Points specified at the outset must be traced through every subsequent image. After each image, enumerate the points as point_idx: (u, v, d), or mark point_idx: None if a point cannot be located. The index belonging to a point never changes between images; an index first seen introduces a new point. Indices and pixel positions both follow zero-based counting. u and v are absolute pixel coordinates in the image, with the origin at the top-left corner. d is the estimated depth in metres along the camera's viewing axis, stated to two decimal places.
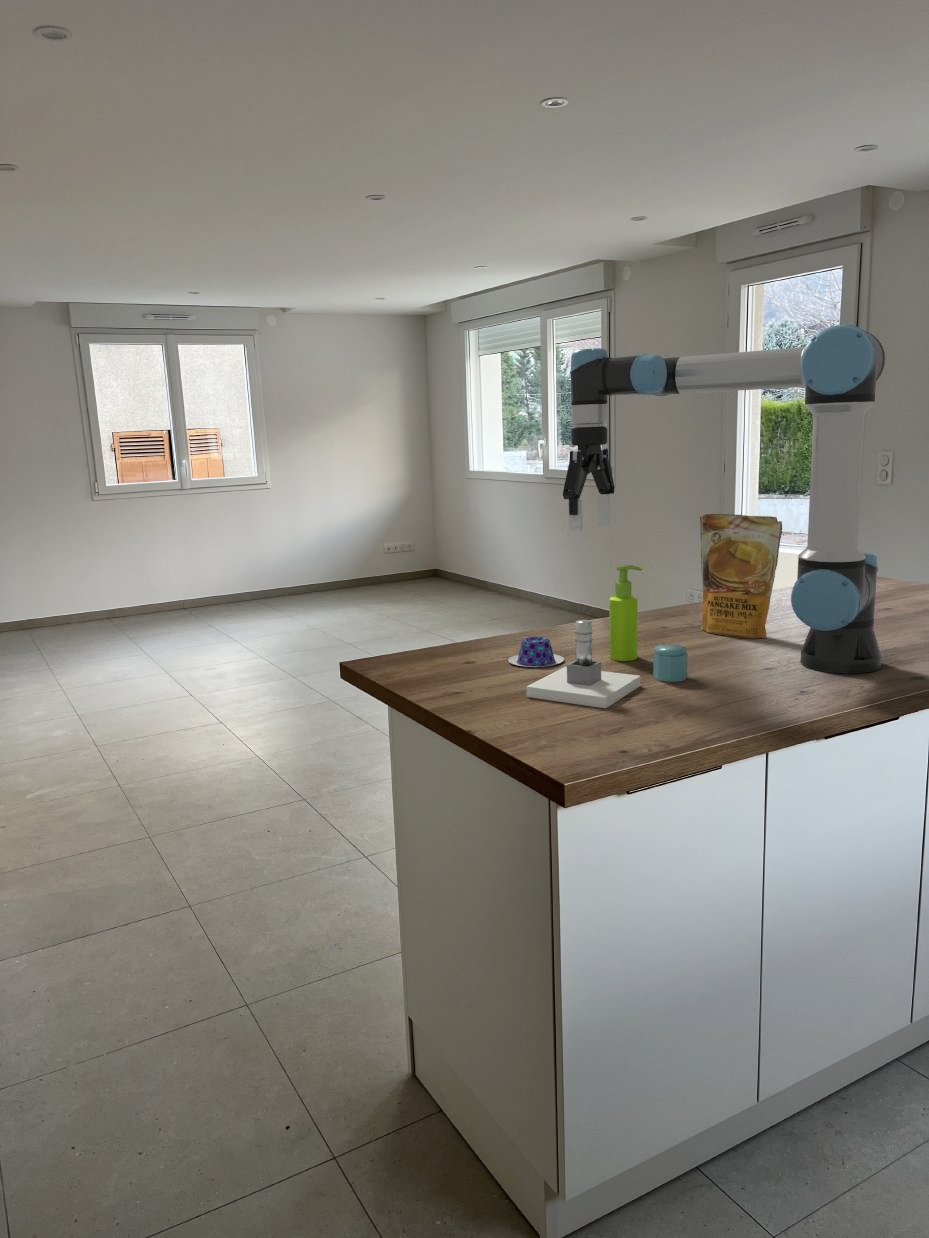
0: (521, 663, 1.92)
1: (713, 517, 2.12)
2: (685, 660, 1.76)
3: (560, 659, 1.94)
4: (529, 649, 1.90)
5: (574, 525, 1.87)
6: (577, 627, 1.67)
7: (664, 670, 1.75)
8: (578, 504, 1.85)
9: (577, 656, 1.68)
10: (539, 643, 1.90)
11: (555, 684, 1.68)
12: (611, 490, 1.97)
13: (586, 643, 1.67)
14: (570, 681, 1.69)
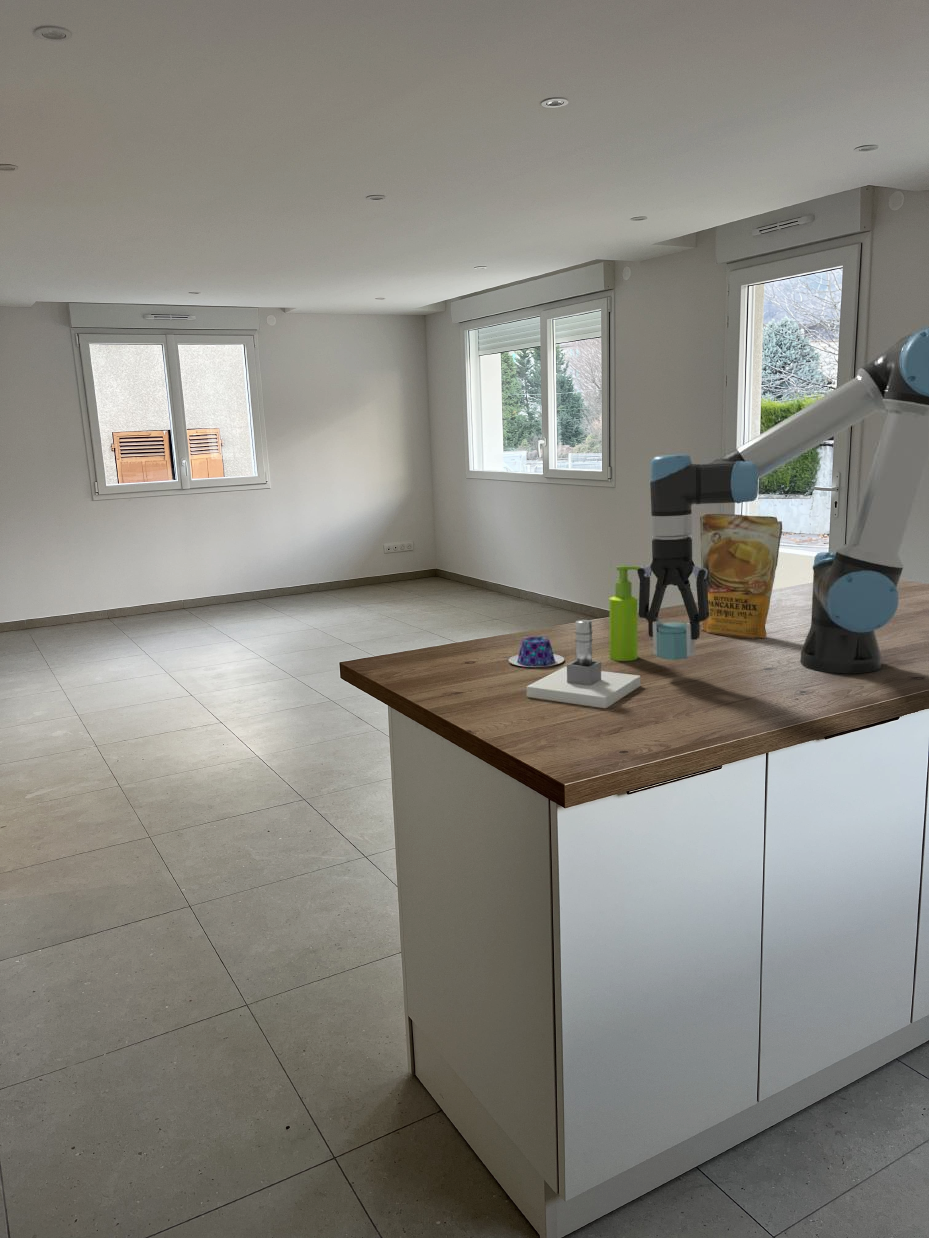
0: (523, 663, 1.91)
1: (713, 517, 2.12)
2: None
3: (560, 658, 1.94)
4: (531, 649, 1.90)
5: None
6: (577, 627, 1.67)
7: (668, 648, 1.74)
8: (653, 626, 1.77)
9: (577, 656, 1.68)
10: (541, 643, 1.90)
11: (555, 684, 1.68)
12: (693, 620, 1.72)
13: (586, 643, 1.67)
14: (570, 681, 1.69)
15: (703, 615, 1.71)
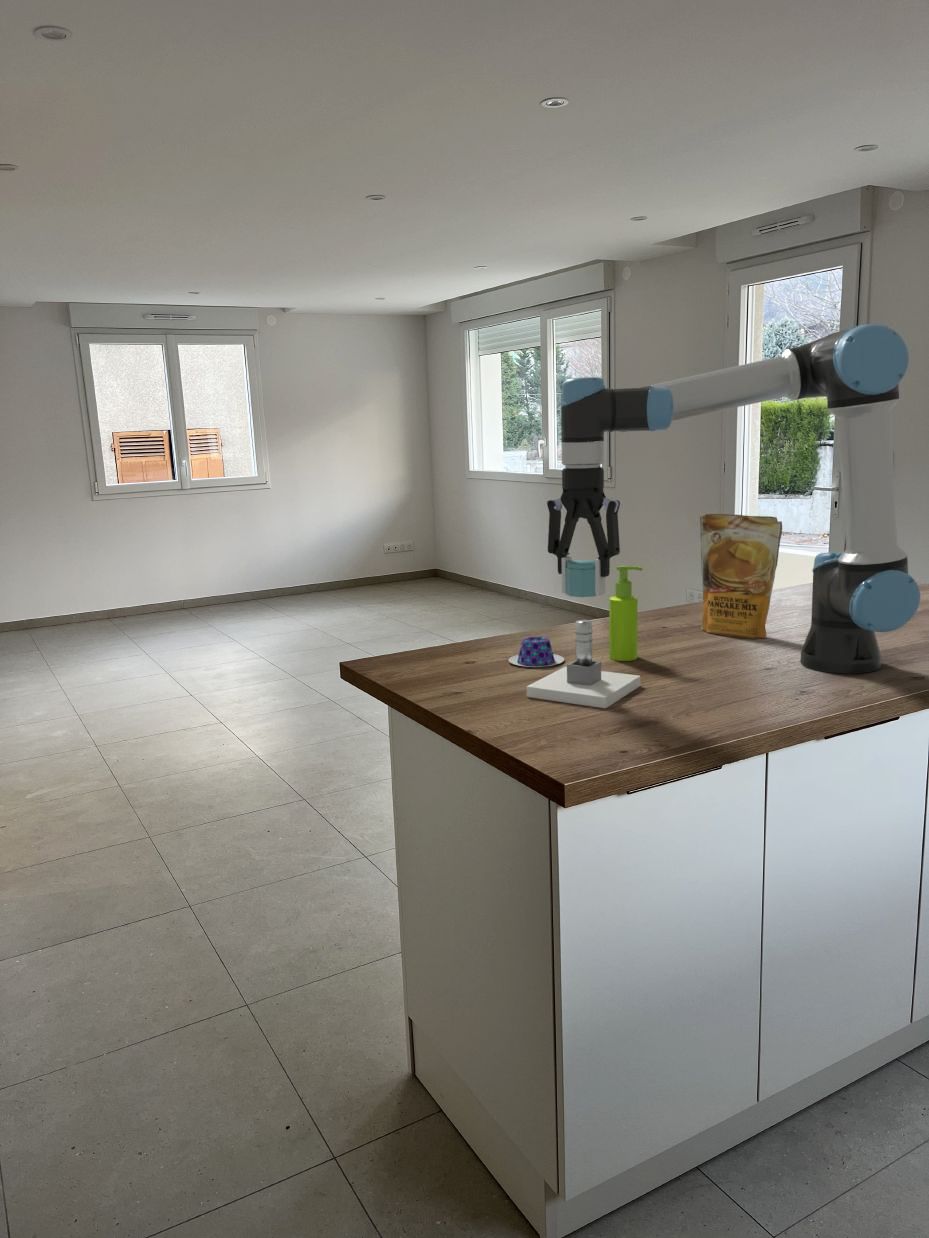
0: (524, 664, 1.91)
1: (713, 517, 2.12)
2: None
3: (559, 658, 1.95)
4: (532, 649, 1.90)
5: None
6: (577, 627, 1.67)
7: (575, 584, 1.64)
8: None
9: (577, 656, 1.68)
10: (542, 643, 1.90)
11: (555, 684, 1.68)
12: (602, 556, 1.62)
13: (586, 643, 1.67)
14: (570, 681, 1.69)
15: (612, 550, 1.61)
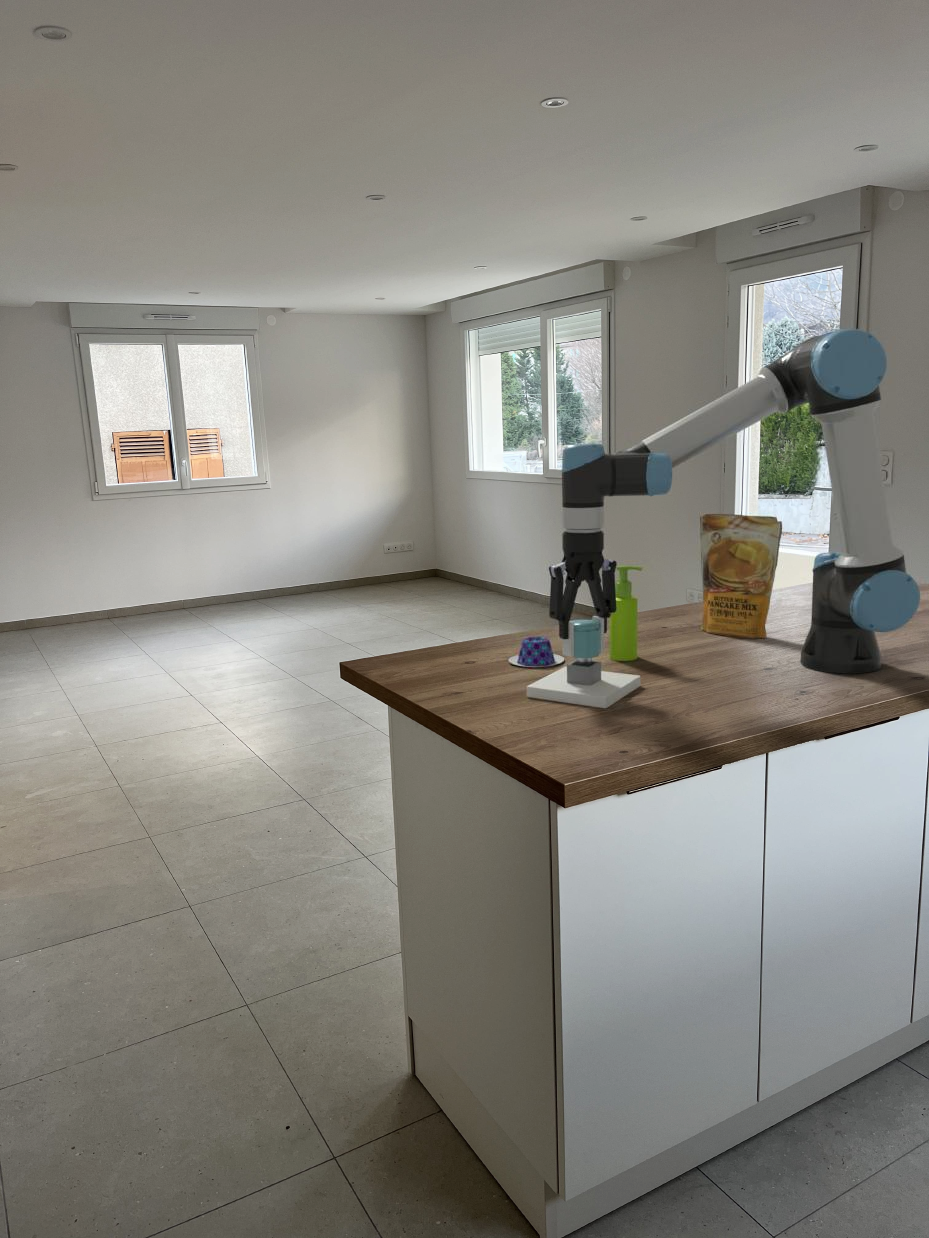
0: (525, 664, 1.91)
1: (713, 517, 2.12)
2: None
3: (559, 657, 1.95)
4: (533, 649, 1.90)
5: (566, 649, 1.67)
6: None
7: (592, 646, 1.66)
8: (568, 627, 1.65)
9: (578, 662, 1.69)
10: (543, 643, 1.90)
11: (555, 684, 1.68)
12: (607, 613, 1.68)
13: None
14: (570, 681, 1.69)
15: (614, 606, 1.69)
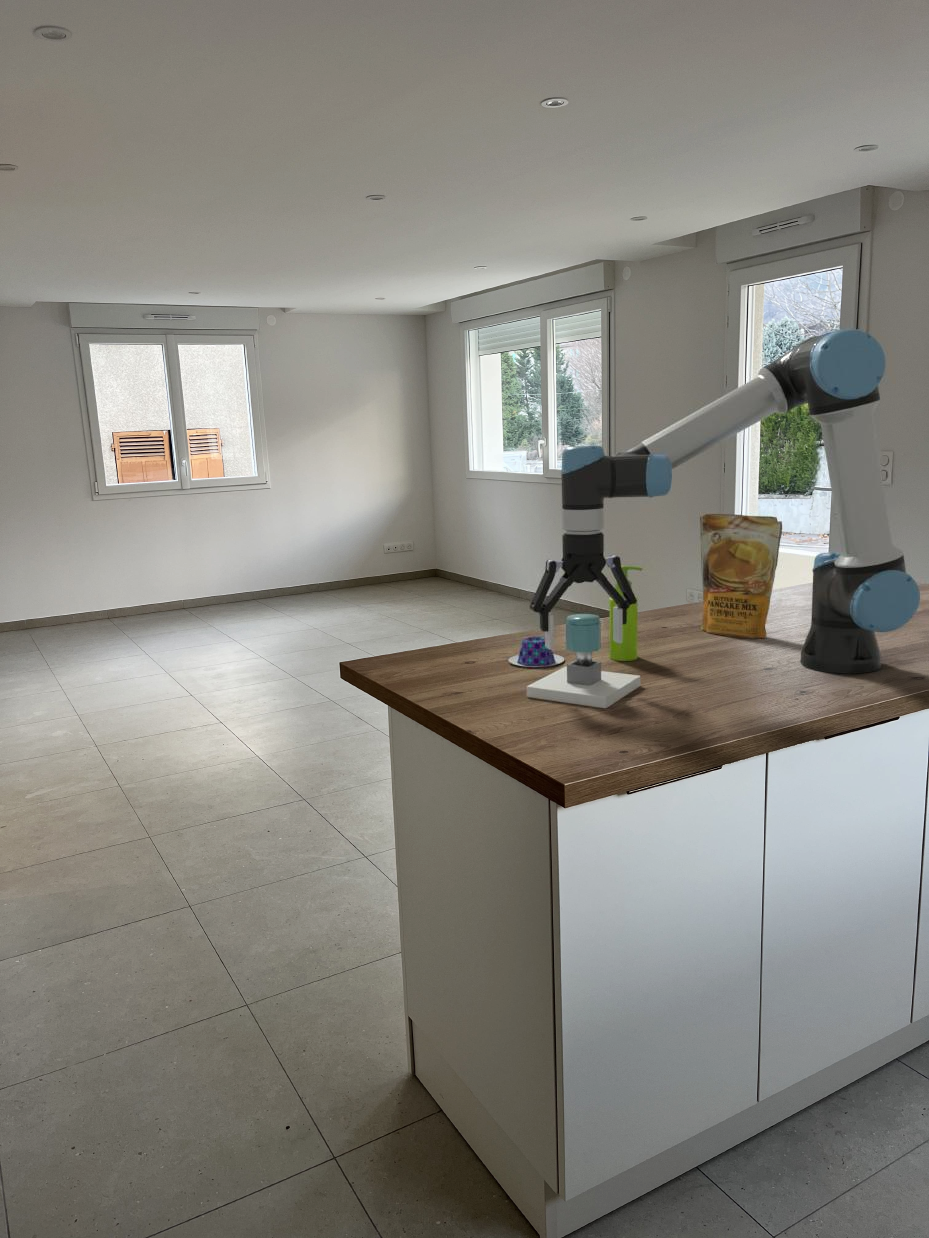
0: (525, 664, 1.91)
1: (713, 517, 2.12)
2: None
3: (558, 657, 1.95)
4: (534, 649, 1.90)
5: (547, 642, 1.67)
6: None
7: (592, 640, 1.66)
8: (548, 620, 1.65)
9: (578, 657, 1.68)
10: (543, 643, 1.90)
11: (555, 684, 1.68)
12: (626, 604, 1.68)
13: None
14: (570, 681, 1.69)
15: (634, 598, 1.68)
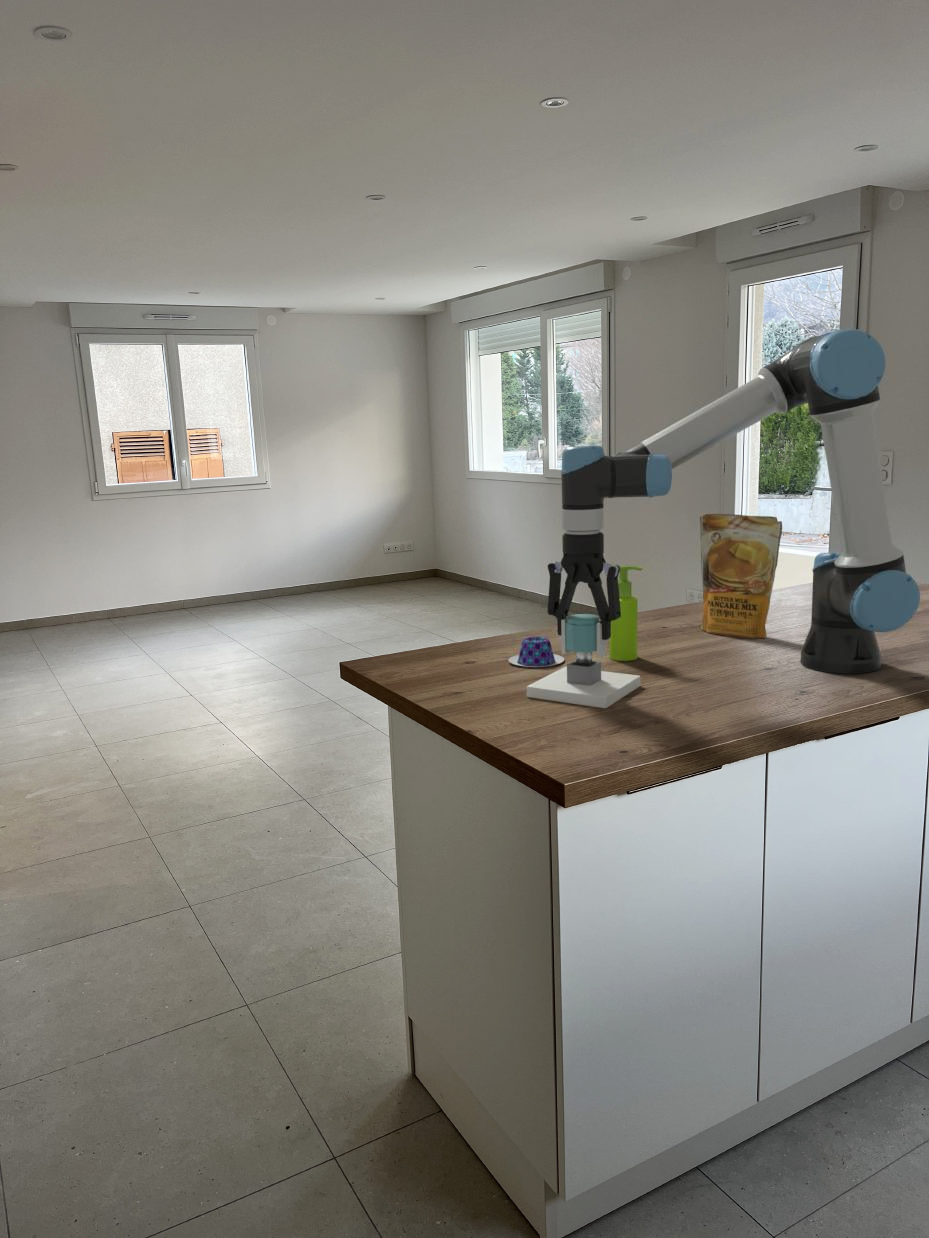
0: (526, 664, 1.91)
1: (713, 517, 2.12)
2: None
3: (558, 657, 1.96)
4: (534, 649, 1.90)
5: None
6: None
7: (592, 640, 1.66)
8: None
9: (578, 657, 1.68)
10: (544, 643, 1.90)
11: (555, 684, 1.68)
12: (603, 619, 1.64)
13: None
14: (570, 681, 1.69)
15: (613, 614, 1.63)
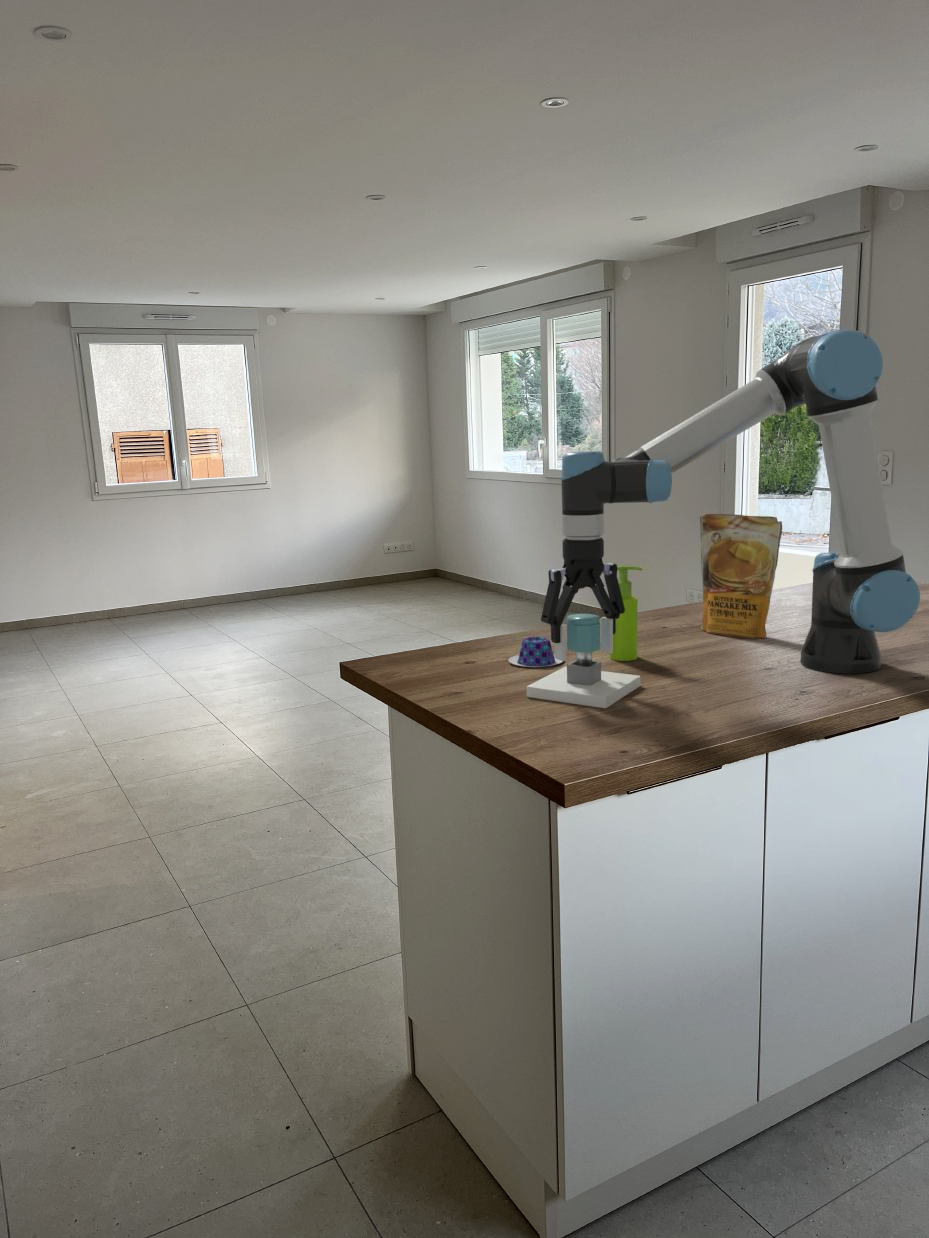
0: (527, 664, 1.91)
1: (713, 517, 2.12)
2: None
3: None
4: (535, 649, 1.90)
5: (558, 653, 1.67)
6: None
7: None
8: (560, 631, 1.65)
9: (577, 657, 1.68)
10: (544, 643, 1.91)
11: (555, 684, 1.68)
12: (616, 614, 1.69)
13: None
14: (570, 681, 1.69)
15: (623, 607, 1.70)
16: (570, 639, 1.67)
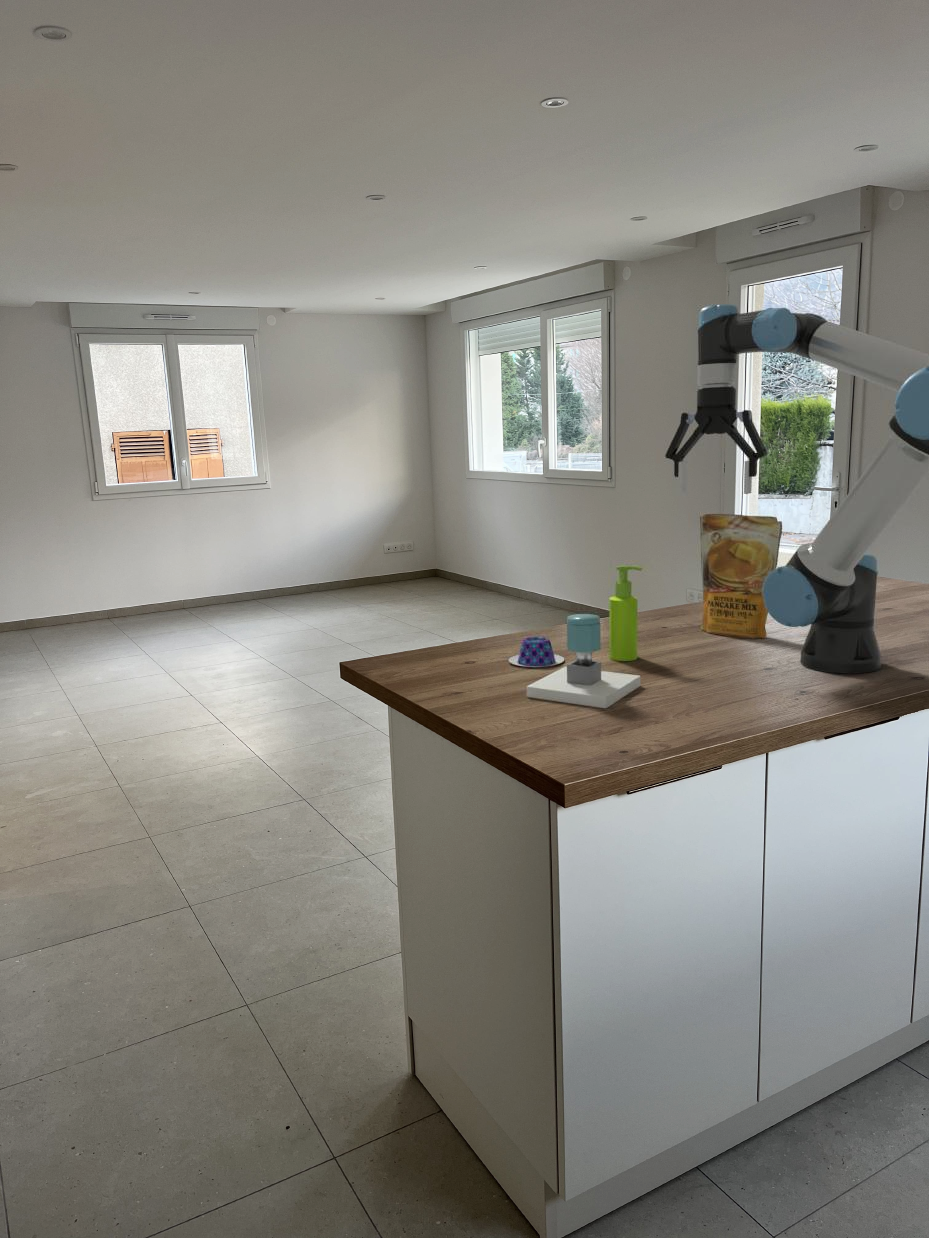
0: (530, 664, 1.90)
1: (713, 517, 2.12)
2: None
3: (554, 656, 1.97)
4: (538, 649, 1.90)
5: None
6: None
7: None
8: (679, 466, 1.87)
9: (577, 657, 1.68)
10: (546, 642, 1.91)
11: (555, 684, 1.68)
12: (751, 457, 1.78)
13: None
14: (570, 681, 1.69)
15: (761, 451, 1.77)
16: (570, 639, 1.67)
